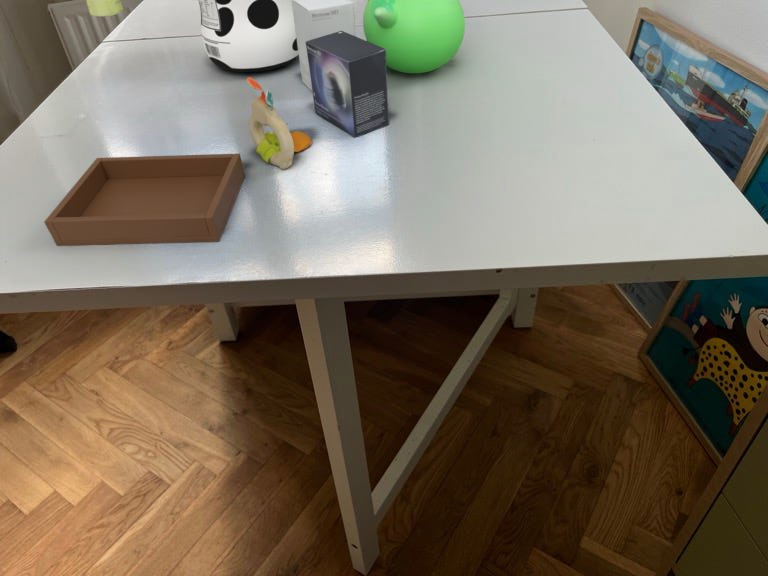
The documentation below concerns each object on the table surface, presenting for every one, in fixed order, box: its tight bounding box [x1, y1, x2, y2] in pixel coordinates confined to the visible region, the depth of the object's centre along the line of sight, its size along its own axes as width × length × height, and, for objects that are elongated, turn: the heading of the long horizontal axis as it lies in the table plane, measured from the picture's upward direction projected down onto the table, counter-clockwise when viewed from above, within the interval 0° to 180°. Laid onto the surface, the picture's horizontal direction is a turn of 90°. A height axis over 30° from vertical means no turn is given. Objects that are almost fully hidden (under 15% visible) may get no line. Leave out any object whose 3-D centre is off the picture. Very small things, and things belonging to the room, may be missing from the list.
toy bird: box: [362, 0, 466, 74], centre depth 88 cm, size 18×17×15 cm
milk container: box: [198, 0, 299, 73], centre depth 93 cm, size 17×17×18 cm
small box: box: [305, 31, 390, 138], centre depth 76 cm, size 11×6×10 cm, turn 37°
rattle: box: [246, 76, 312, 170], centre depth 68 cm, size 8×8×12 cm
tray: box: [43, 153, 246, 247], centre depth 63 cm, size 18×14×3 cm
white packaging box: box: [291, 0, 357, 93], centre depth 85 cm, size 7×7×13 cm
